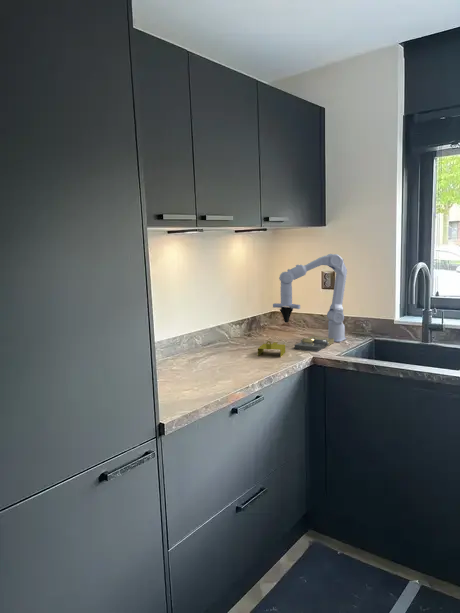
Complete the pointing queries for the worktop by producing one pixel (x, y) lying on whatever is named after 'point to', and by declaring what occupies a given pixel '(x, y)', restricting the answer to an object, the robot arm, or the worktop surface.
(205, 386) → the worktop surface
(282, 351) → the bracket
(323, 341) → the fixed leaf
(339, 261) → the robot arm
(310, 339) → the brass plate
